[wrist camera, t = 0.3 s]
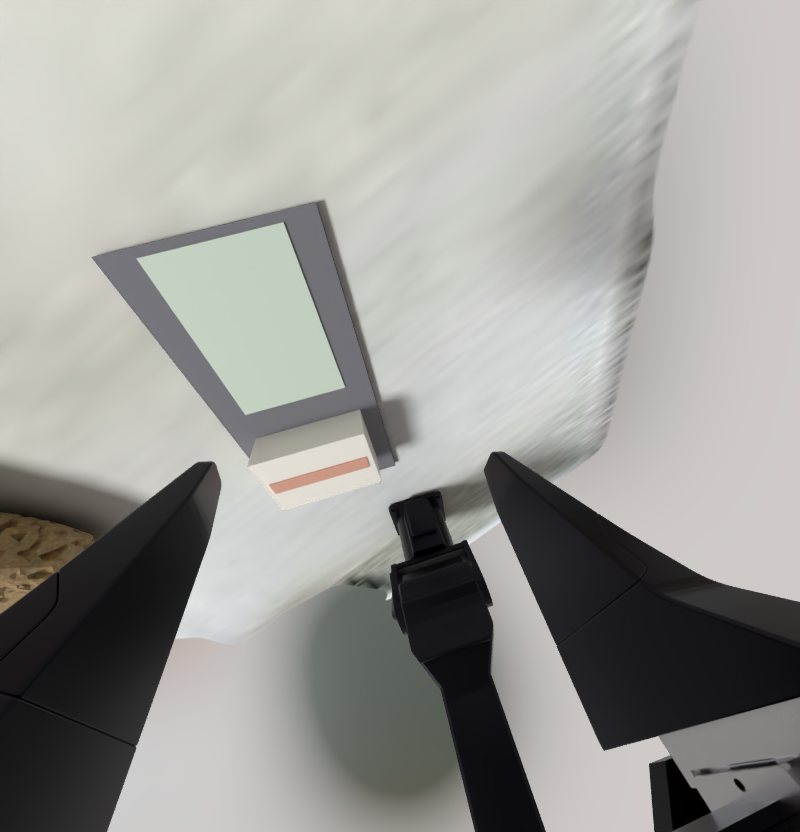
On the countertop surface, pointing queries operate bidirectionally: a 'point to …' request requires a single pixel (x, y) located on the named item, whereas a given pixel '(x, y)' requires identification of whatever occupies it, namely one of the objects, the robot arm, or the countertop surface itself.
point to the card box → (315, 460)
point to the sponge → (33, 553)
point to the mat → (254, 323)
